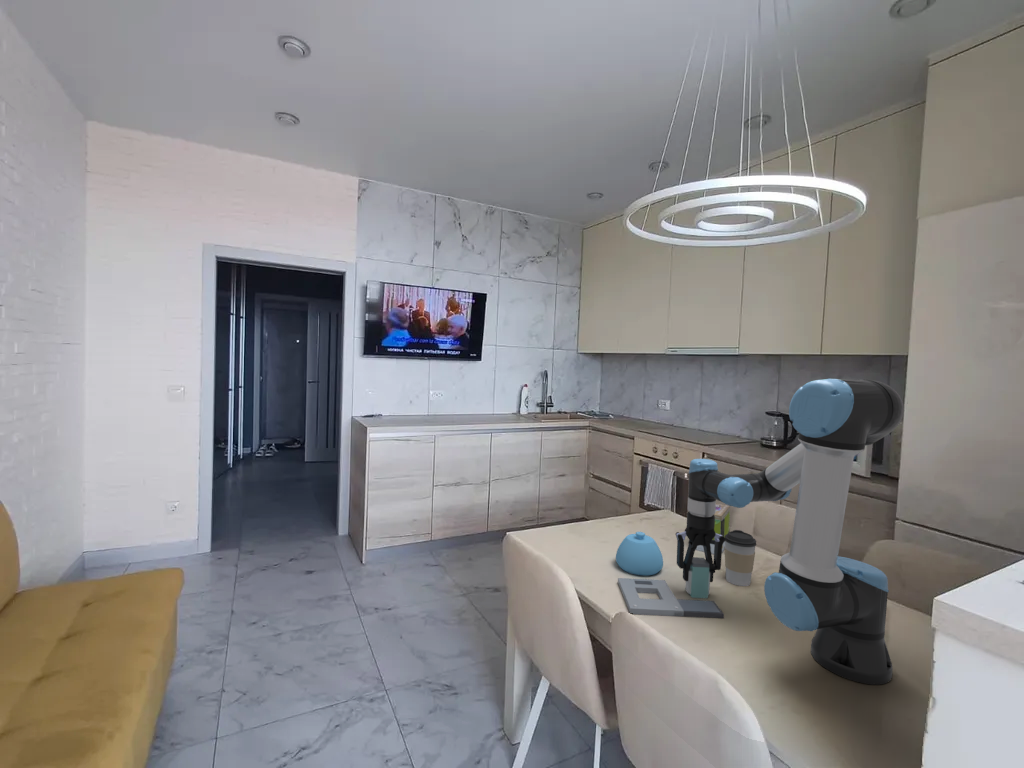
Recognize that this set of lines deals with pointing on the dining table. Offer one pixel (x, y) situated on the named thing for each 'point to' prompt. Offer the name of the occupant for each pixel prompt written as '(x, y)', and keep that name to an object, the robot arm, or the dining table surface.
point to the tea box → (719, 525)
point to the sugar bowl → (639, 555)
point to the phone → (700, 608)
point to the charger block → (699, 578)
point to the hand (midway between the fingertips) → (697, 591)
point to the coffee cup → (739, 557)
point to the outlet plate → (649, 606)
